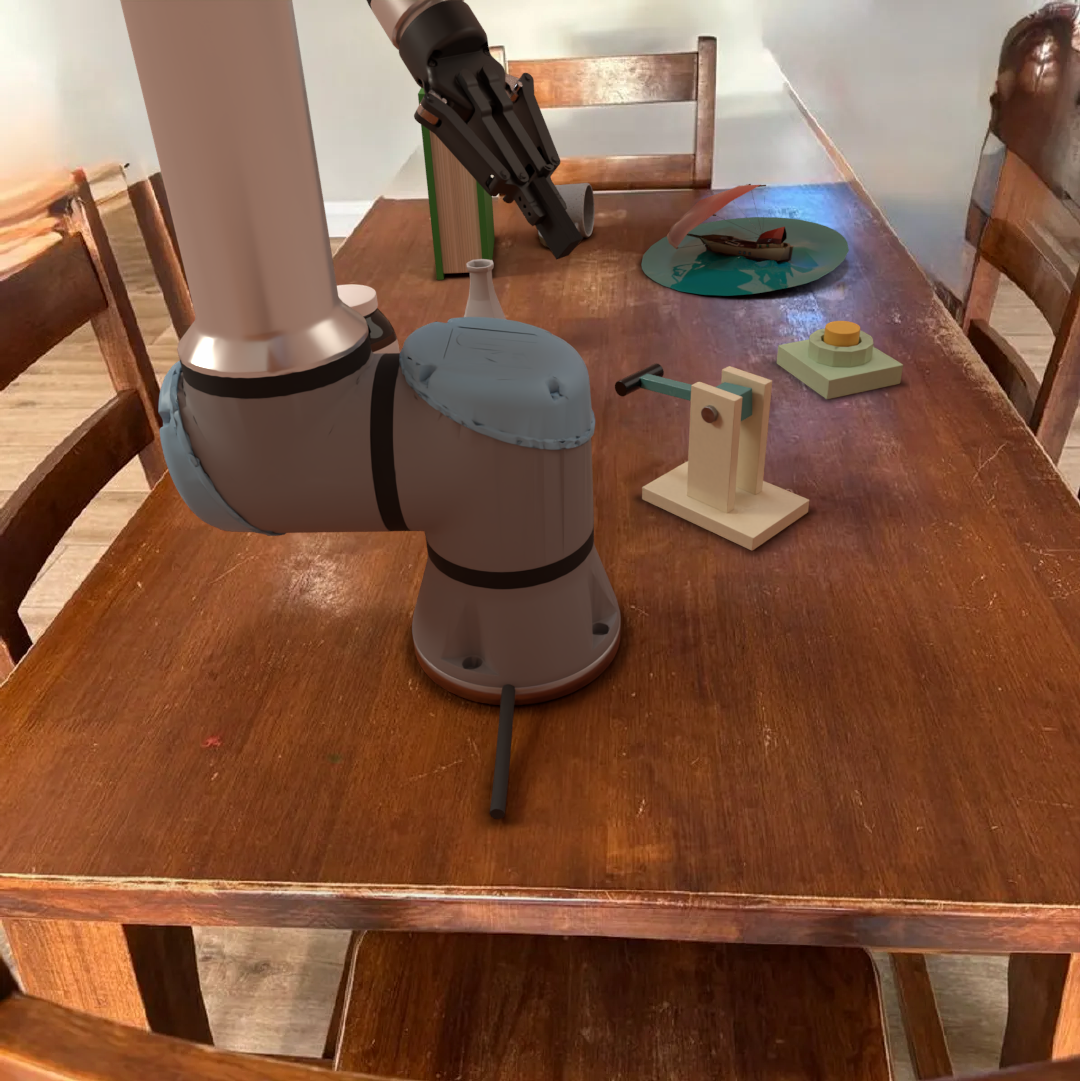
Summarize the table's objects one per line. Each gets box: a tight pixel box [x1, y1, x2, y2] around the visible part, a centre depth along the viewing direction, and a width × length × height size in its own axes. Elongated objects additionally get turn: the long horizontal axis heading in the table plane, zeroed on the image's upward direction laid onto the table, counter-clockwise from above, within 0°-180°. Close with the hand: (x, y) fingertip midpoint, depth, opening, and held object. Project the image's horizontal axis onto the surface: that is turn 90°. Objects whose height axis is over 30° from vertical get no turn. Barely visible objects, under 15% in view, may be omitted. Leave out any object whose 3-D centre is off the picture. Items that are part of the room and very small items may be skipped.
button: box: [823, 320, 861, 347], centre depth 107 cm, size 4×4×2 cm
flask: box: [463, 259, 507, 319], centre depth 118 cm, size 7×7×10 cm
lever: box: [614, 362, 752, 421], centre depth 86 cm, size 12×5×2 cm, turn 44°
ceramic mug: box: [535, 182, 596, 248], centre depth 151 cm, size 11×8×8 cm
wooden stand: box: [641, 365, 810, 552], centre depth 85 cm, size 12×8×12 cm, turn 44°
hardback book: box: [417, 87, 496, 281], centre depth 141 cm, size 18×7×24 cm, turn 0°
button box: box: [776, 327, 904, 400], centre depth 109 cm, size 10×9×4 cm
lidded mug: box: [337, 283, 401, 353], centre depth 106 cm, size 12×11×12 cm
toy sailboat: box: [640, 183, 850, 297], centre depth 137 cm, size 28×28×11 cm
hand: (569, 248), depth 89 cm, fingers closed
